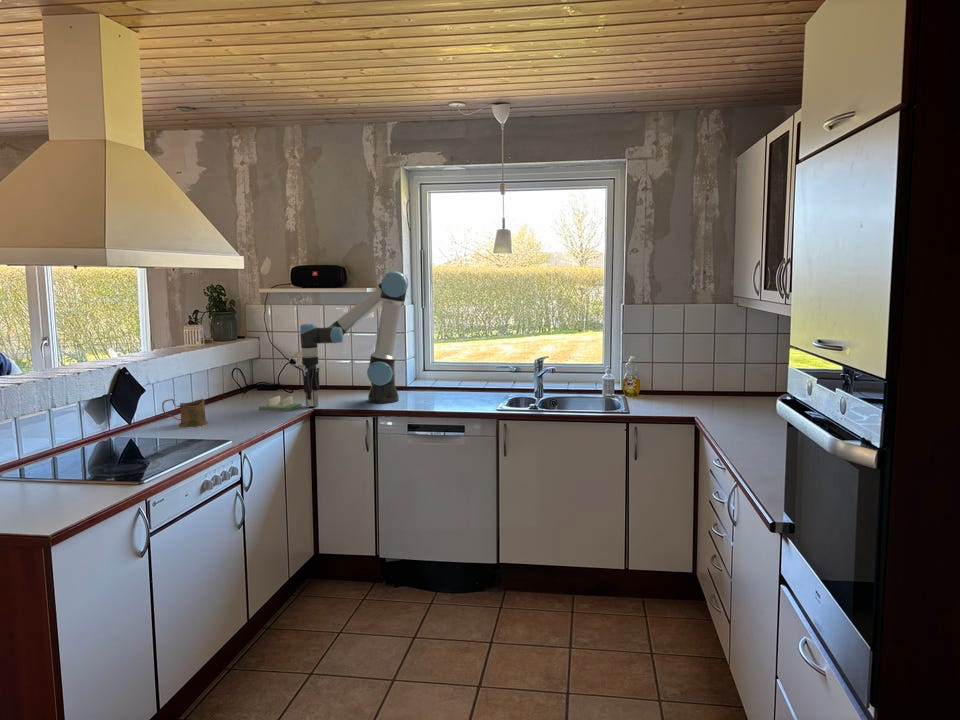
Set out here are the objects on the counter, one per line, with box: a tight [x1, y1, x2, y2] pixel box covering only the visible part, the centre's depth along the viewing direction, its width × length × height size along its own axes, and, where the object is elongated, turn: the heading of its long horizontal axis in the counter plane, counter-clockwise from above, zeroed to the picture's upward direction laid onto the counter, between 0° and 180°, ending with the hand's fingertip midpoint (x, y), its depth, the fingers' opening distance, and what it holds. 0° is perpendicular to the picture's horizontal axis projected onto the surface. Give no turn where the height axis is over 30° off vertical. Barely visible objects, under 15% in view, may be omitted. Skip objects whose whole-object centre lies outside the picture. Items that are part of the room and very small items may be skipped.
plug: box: [305, 390, 319, 408], centre depth 340 cm, size 4×4×7 cm
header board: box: [258, 395, 303, 412], centre depth 339 cm, size 16×12×5 cm
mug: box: [161, 398, 209, 428], centre depth 302 cm, size 12×18×12 cm, turn 126°
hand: (312, 404), depth 340 cm, fingers closed on plug, 4 cm apart
